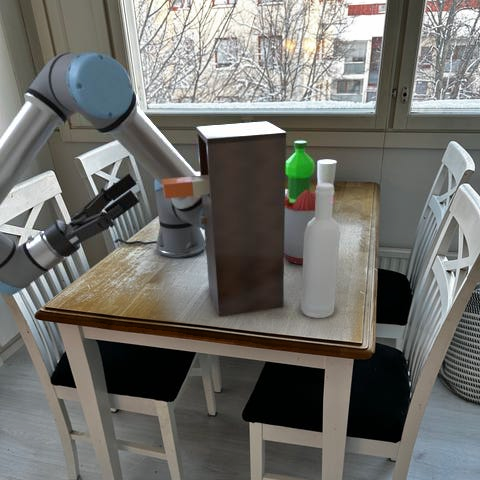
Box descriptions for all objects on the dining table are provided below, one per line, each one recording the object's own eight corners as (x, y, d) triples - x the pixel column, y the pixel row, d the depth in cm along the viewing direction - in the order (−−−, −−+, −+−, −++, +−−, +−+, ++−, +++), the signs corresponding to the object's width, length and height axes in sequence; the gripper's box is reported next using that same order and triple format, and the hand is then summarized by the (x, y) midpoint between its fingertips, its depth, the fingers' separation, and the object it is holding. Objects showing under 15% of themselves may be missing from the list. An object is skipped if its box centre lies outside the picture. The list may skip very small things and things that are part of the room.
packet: (165, 198, 98) (163, 184, 96) (163, 192, 102) (161, 178, 100) (265, 188, 102) (265, 174, 100) (260, 183, 106) (260, 169, 104)
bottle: (316, 322, 107) (324, 193, 91) (294, 308, 112) (297, 184, 96) (341, 311, 111) (353, 185, 95) (318, 298, 116) (325, 177, 100)
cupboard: (267, 281, 125) (267, 121, 104) (283, 307, 113) (286, 132, 92) (205, 290, 122) (191, 127, 101) (214, 317, 110) (201, 139, 89)
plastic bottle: (281, 217, 168) (282, 144, 155) (288, 207, 176) (289, 138, 163) (308, 219, 165) (311, 145, 152) (314, 209, 173) (317, 139, 160)
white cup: (337, 184, 201) (339, 160, 195) (330, 188, 195) (332, 164, 190) (320, 182, 204) (322, 158, 199) (313, 186, 199) (314, 162, 193)
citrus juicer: (311, 241, 148) (314, 177, 137) (340, 262, 134) (347, 193, 123) (266, 250, 143) (266, 185, 133) (292, 272, 129) (294, 201, 119)
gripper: (33, 253, 88) (123, 188, 85) (48, 212, 108) (121, 158, 106) (61, 281, 92) (148, 220, 89) (71, 236, 112) (142, 185, 110)
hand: (134, 186), depth 98 cm, fingers open, 13 cm apart
